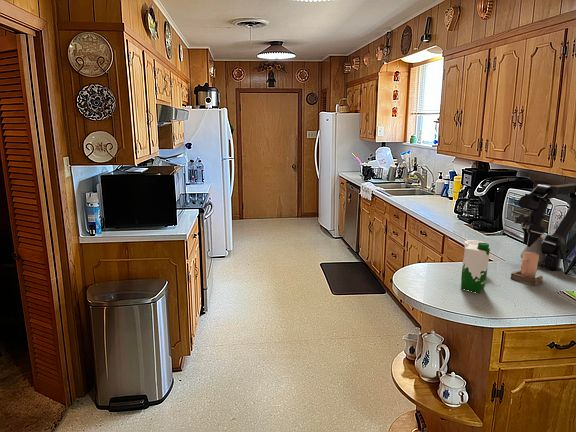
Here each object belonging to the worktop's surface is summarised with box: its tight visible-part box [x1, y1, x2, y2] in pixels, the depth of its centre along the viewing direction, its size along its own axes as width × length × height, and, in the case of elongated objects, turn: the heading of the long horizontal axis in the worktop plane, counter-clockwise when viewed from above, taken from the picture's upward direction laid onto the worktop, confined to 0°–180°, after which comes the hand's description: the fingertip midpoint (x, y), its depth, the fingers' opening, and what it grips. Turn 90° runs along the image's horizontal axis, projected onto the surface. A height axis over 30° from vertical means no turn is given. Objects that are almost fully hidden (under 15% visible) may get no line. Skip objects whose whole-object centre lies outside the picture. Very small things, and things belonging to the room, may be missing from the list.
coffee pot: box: [501, 228, 546, 266], centre depth 213 cm, size 21×12×15 cm, turn 60°
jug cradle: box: [510, 269, 544, 286], centre depth 189 cm, size 8×10×2 cm
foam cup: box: [464, 239, 485, 249], centre depth 199 cm, size 10×9×13 cm
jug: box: [520, 251, 539, 279], centre depth 188 cm, size 8×6×12 cm
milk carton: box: [460, 242, 491, 294], centre depth 176 cm, size 9×9×20 cm
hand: (526, 245), depth 195 cm, fingers open, 9 cm apart
